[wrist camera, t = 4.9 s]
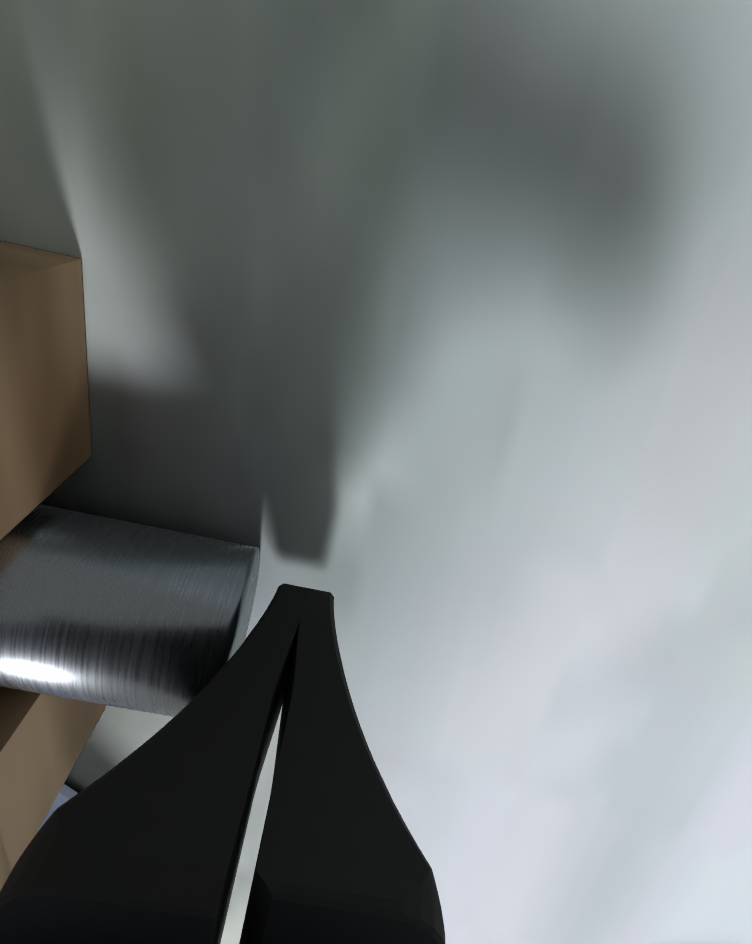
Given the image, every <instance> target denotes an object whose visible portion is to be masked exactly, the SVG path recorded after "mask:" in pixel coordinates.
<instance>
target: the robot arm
mask: <svg viewBox="0 0 752 944" xmlns="http://www.w3.org/2000/svg"><path fill="white" fill-rule="evenodd" d="M282 704H283V705H282ZM281 707H282V713H281V721H280V729H279V737H278V745H277V752H276V760H275V768H274V776H273V783H272V789H271V795H270V800H269V805H268V810H267V815H266V819H265V824H264V829H263V834H262V838H261V843H260V848H259V853H258V857H257V862H256V867H255V872H254V876H253V881H252V886H251V891H250V895H249V900H248V905H247V910H246V914H245V919H244V924H243V929H242V933H241V938H240V943H239V944H445V931H444V923H443V917H442V910H441V905H440V900H439V896H438V891H437V887H436V883H435V879H434V875H433V872H432V869H431V867H430V865H429V863H428V862H427V860H426V859H425V857H424V855H423V854H422V852H421V850H420V849H419V847H418V845H417V844H416V842H415V840H414V838H413V837H412V835H411V833H410V832H409V830H408V828H407V826H406V824H405V823H404V821H403V819H402V817H401V815H400V813H399V811H398V809H397V808H396V806H395V804H394V802H393V800H392V798H391V796H390V794H389V792H388V789H387V787H386V785H385V783H384V781H383V779H382V777H381V775H380V773H379V770H378V768H377V766H376V764H375V762H374V760H373V757H372V755H371V752H370V750H369V747H368V745H367V742H366V740H365V737H364V735H363V732H362V729H361V727H360V724H359V721H358V718H357V715H356V712H355V709H354V706H353V703H352V700H351V696H350V693H349V689H348V686H347V682H346V678H345V674H344V671H343V666H342V661H341V657H340V652H339V647H338V642H337V636H336V629H335V620H334V597H333V595H332V594H331V593H330V592H325V591H320V590H314V589H309V588H304V587H299V586H294V585H289V584H282V585H280V586H279V587H278V589H277V592H276V594H275V596H274V597H273V599H272V601H271V603H270V605H269V606H268V608H267V609H266V611H265V613H264V614H263V616H262V617H261V619H260V620H259V622H258V623H257V625H256V626H255V627H254V629H253V630H252V631H251V633H250V634H249V635H248V637H247V638H246V639H245V641H244V642H243V643H242V645H241V646H240V647H239V649H238V650H237V651H236V652H235V653H234V655H233V656H232V657H231V658H230V659H229V660H228V662H227V663H226V664H225V665H224V666H223V667H222V669H221V670H220V671H219V672H218V673H217V674H216V676H215V677H214V678H213V679H212V680H211V681H210V682H209V683H208V684H207V685H206V686H205V687H204V688H203V690H202V691H201V692H200V693H199V694H198V695H197V696H196V697H195V698H194V699H193V700H192V701H191V702H190V703H189V704H188V705H187V706H186V707H184V708H183V709H182V710H181V711H180V712H179V713H178V714H177V715H176V716H175V717H174V718H173V719H172V720H170V721H169V722H168V723H167V724H166V725H165V726H164V727H163V728H162V729H161V730H159V731H158V732H157V733H156V734H155V735H154V736H152V737H151V738H150V739H149V740H148V741H146V742H145V743H144V744H143V745H142V746H140V747H139V748H138V749H137V750H135V751H134V752H133V753H132V754H130V755H129V756H128V757H127V758H125V759H124V760H123V761H122V762H120V763H119V764H118V765H117V766H115V767H114V768H113V769H111V770H110V771H109V772H107V773H106V774H105V775H103V776H102V777H101V778H99V779H98V780H96V781H95V782H93V783H92V784H91V785H89V786H88V787H86V788H85V789H84V790H82V791H81V792H79V793H77V792H76V791H74V790H73V789H71V788H70V787H68V786H67V785H65V784H63V786H62V788H61V790H60V792H59V793H58V795H57V797H56V799H55V801H54V802H53V804H52V806H51V808H50V810H49V812H48V813H47V815H46V817H45V819H44V821H43V822H42V824H41V826H40V828H39V830H38V832H37V833H36V835H35V836H34V838H33V839H32V840H31V842H30V843H29V844H28V846H27V847H26V849H25V851H24V852H23V853H22V855H21V856H20V858H19V859H18V861H17V862H16V864H15V866H14V867H13V869H12V871H11V873H10V874H9V876H8V878H7V880H6V882H5V884H4V885H3V887H2V889H1V891H0V944H220V942H221V938H222V933H223V929H224V924H225V920H226V916H227V911H228V907H229V903H230V898H231V894H232V889H233V885H234V881H235V876H236V872H237V868H238V863H239V859H240V855H241V850H242V846H243V841H244V837H245V833H246V828H247V824H248V820H249V815H250V811H251V807H252V802H253V798H254V794H255V791H256V787H257V783H258V780H259V776H260V773H261V770H262V767H263V764H264V760H265V757H266V754H267V751H268V748H269V745H270V742H271V738H272V735H273V732H274V729H275V726H276V723H277V720H278V716H279V713H280V710H281Z"/></svg>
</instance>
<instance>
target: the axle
mask: <svg viewBox="0 0 752 944" xmlns="http://www.w3.org/2000/svg"><path fill="white" fill-rule="evenodd" d="M259 562H260V551H259V548H258V547H253V546H248V545H243V544H238V543H232V542H227V541H222V540H217V539H212V538H207V537H202V536H197V535H192V534H187V533H182V532H177V531H172V530H167V529H162V528H157V527H152V526H147V525H142V524H137V523H132V522H127V521H122V520H117V519H112V518H107V517H102V516H97V515H91V514H86V513H81V512H76V511H71V510H66V509H61V508H56V507H51V506H46V505H41V504H39V505H38V506H37V507H36V508H35V509H33V510H32V511H31V512H30V513H29V514H28V515H27V516H26V517H25V518H24V519H23V520H22V521H20V522H19V523H18V524H17V525H16V526H15V527H14V528H13V529H12V530H11V531H10V532H9V533H7V534H6V535H5V536H4V537H3V538H2V539H1V540H0V686H1V687H6V688H12V689H18V690H24V691H29V692H35V693H41V694H47V695H52V696H58V697H64V698H69V699H75V700H81V701H87V702H92V703H98V704H104V705H109V706H115V707H121V708H127V709H132V710H138V711H144V712H150V713H155V714H161V715H167V716H172V717H175V716H176V715H177V714H178V713H179V712H180V711H181V710H182V709H183V708H184V707H186V706H187V705H188V704H189V703H190V702H191V701H192V700H193V699H194V698H195V697H196V696H197V695H198V694H199V693H200V692H201V691H202V690H203V688H204V687H205V686H206V685H207V684H208V683H209V682H210V681H211V680H212V679H213V678H214V677H215V676H216V674H217V673H218V672H219V671H220V670H221V669H222V667H223V666H224V665H225V664H226V663H227V662H228V660H229V659H230V658H231V657H232V656H233V655H234V653H235V652H236V651H237V650H238V649H239V647H240V646H241V645H242V643H243V642H244V641H245V637H246V633H247V629H248V625H249V620H250V616H251V611H252V606H253V602H254V596H255V591H256V585H257V579H258V572H259Z"/></svg>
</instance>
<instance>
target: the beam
mask: <svg viewBox="0 0 752 944" xmlns="http://www.w3.org/2000/svg"><path fill="white" fill-rule="evenodd" d="M91 456H92V449H91V431H90V412H89V394H88V375H87V357H86V338H85V320H84V301H83V282H82V264H81V259H79V258H74V257H70V256H66V255H61V254H57V253H53V252H48V251H44V250H39V249H35V248H31V247H26V246H22V245H17V244H13V243H9V242H4V241H0V540H1V539H2V538H3V537H4V536H5V535H6V534H7V533H9V532H10V531H11V530H12V529H13V528H14V527H15V526H16V525H17V524H18V523H19V522H20V521H22V520H23V519H24V518H25V517H26V516H27V515H28V514H29V513H30V512H31V511H32V510H33V509H35V508H36V507H37V506H38V505H39V504H40V503H41V502H42V501H43V500H44V499H45V498H46V497H48V496H49V495H50V494H51V493H52V492H53V491H54V490H55V489H56V488H57V487H58V486H59V485H61V484H62V483H63V482H64V481H65V480H66V479H67V478H68V477H69V476H70V475H71V474H72V473H73V472H75V471H76V470H77V469H78V468H79V467H80V466H81V465H82V464H83V463H84V462H85V461H86V460H88V459H89V458H90V457H91ZM104 710H105V705H104V704H98V703H92V702H87V701H81V700H75V699H69V698H64V697H58V696H52V695H47V694H41V693H35V692H29V691H24V690H18V689H12V688H6V687H1V686H0V891H1V889H2V887H3V885H4V884H5V882H6V880H7V878H8V876H9V874H10V873H11V871H12V869H13V867H14V866H15V864H16V862H17V861H18V859H19V858H20V856H21V855H22V853H23V852H24V851H25V849H26V847H27V846H28V844H29V843H30V842H31V840H32V839H33V838H34V836H35V835H36V833H37V832H38V830H39V828H40V826H41V824H42V822H43V821H44V819H45V817H46V815H47V813H48V812H49V810H50V808H51V806H52V804H53V802H54V801H55V799H56V797H57V795H58V793H59V792H60V790H61V788H62V786H63V784H64V782H65V781H66V779H67V777H68V775H69V773H70V772H71V770H72V768H73V766H74V764H75V762H76V761H77V759H78V757H79V755H80V753H81V752H82V750H83V748H84V746H85V744H86V742H87V741H88V739H89V737H90V735H91V733H92V732H93V730H94V728H95V726H96V724H97V722H98V721H99V719H100V717H101V715H102V713H103V712H104Z"/></svg>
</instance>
